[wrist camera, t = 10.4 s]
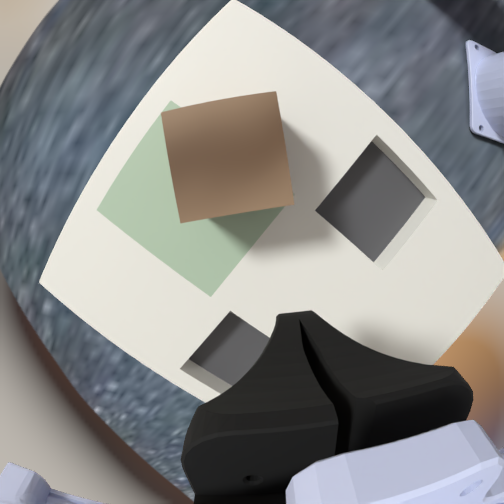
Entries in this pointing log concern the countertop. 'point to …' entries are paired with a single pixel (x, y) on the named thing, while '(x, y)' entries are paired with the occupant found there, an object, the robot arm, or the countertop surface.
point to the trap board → (271, 226)
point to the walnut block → (227, 156)
